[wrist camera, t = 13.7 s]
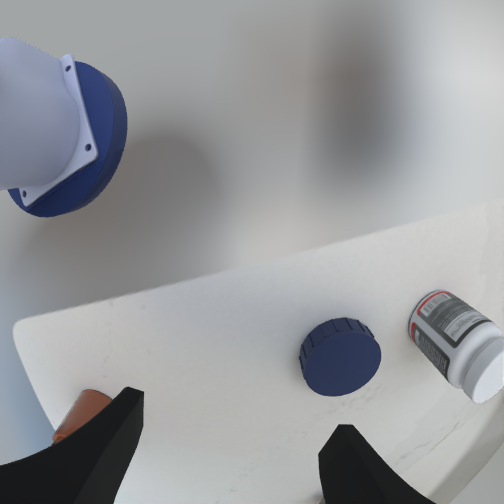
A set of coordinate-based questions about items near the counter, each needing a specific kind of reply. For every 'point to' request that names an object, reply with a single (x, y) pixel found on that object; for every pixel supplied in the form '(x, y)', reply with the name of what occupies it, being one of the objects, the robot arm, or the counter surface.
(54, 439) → the jar
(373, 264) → the counter surface
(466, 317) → the pill bottle
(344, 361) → the lid
